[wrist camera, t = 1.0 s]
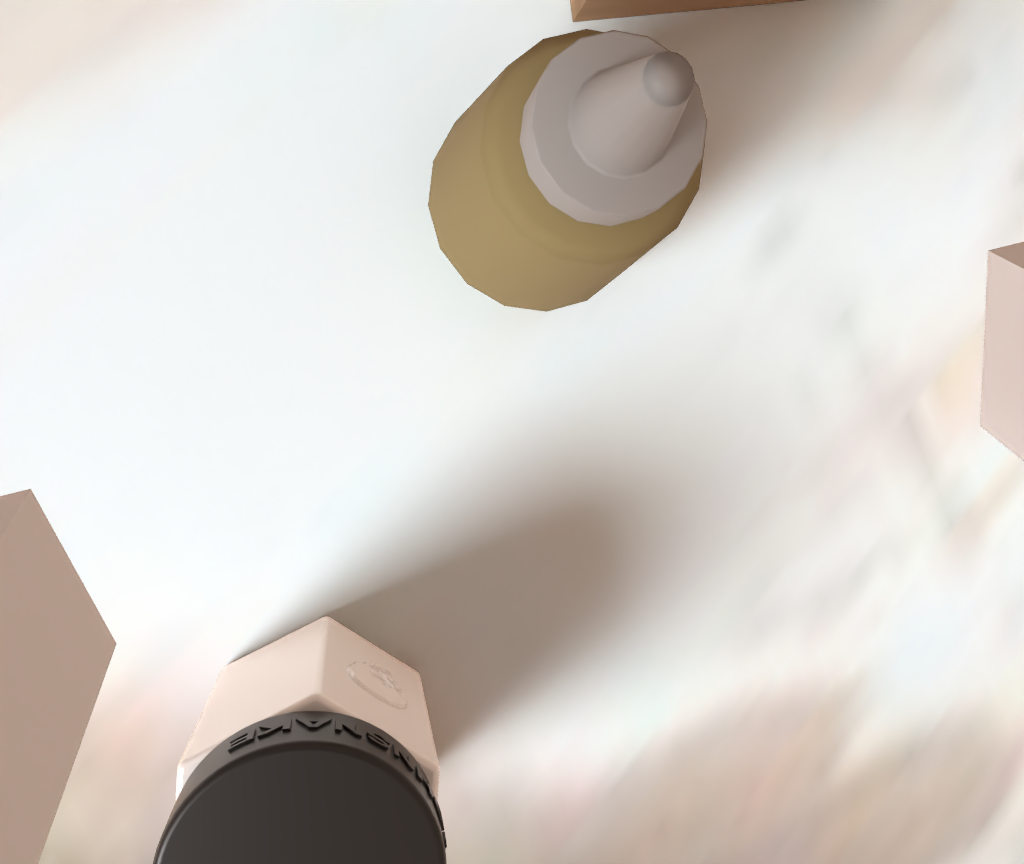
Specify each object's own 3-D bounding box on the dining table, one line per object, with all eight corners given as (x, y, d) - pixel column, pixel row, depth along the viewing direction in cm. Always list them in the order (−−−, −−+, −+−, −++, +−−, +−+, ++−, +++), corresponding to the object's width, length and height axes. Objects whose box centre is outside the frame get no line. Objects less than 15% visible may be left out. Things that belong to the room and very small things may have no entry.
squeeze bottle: (477, 351, 38) (585, 334, 20) (385, 166, 37) (412, -26, 19) (650, 264, 39) (899, 173, 21) (565, 80, 38) (752, -178, 20)
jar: (467, 695, 39) (516, 838, 27) (355, 861, 38) (354, 1081, 26) (282, 579, 37) (247, 677, 25) (163, 752, 37) (72, 934, 25)
